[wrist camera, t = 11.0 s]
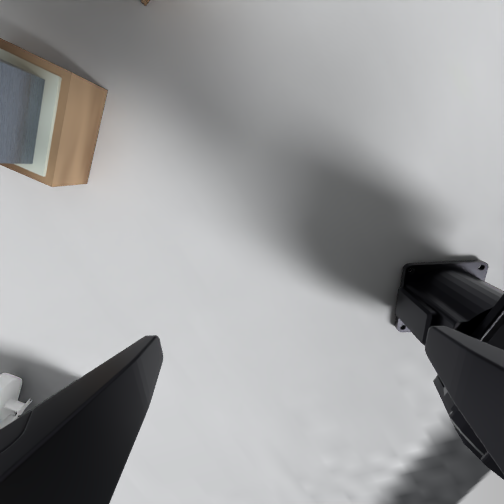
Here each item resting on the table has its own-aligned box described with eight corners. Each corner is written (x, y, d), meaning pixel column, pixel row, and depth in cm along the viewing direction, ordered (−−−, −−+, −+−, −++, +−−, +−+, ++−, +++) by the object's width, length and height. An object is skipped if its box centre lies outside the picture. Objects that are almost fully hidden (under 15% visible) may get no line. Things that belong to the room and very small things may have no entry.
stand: (107, 90, 18) (69, 71, 14) (87, 183, 20) (49, 187, 16) (7, 42, 17) (-59, 9, 13) (-3, 144, 19) (-62, 139, 16)
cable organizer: (16, 352, 26) (-168, 492, 15) (114, 390, 27) (12, 545, 16) (-4, 442, 30) (-155, 599, 19) (81, 470, 31) (-16, 634, 20)
